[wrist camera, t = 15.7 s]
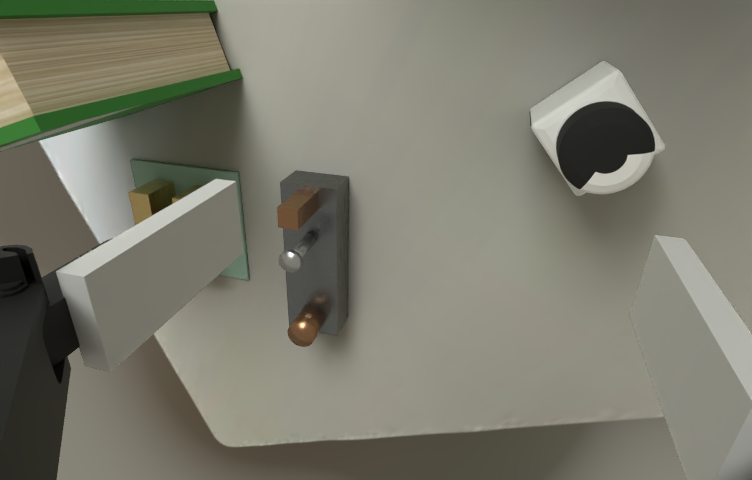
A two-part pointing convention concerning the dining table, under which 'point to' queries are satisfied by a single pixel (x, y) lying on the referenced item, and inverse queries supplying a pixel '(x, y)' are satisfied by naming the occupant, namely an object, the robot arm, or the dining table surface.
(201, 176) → the mat
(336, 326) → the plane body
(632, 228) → the dining table surface
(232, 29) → the dining table surface
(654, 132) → the medicine bottle
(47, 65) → the hardback book
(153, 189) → the lever cap
